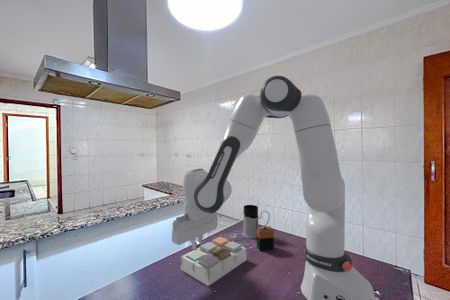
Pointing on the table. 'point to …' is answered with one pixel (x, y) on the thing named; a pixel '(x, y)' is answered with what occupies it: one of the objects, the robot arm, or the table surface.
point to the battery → (265, 238)
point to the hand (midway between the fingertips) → (196, 247)
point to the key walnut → (221, 253)
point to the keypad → (213, 262)
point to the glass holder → (251, 221)
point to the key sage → (195, 255)
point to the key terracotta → (220, 242)
